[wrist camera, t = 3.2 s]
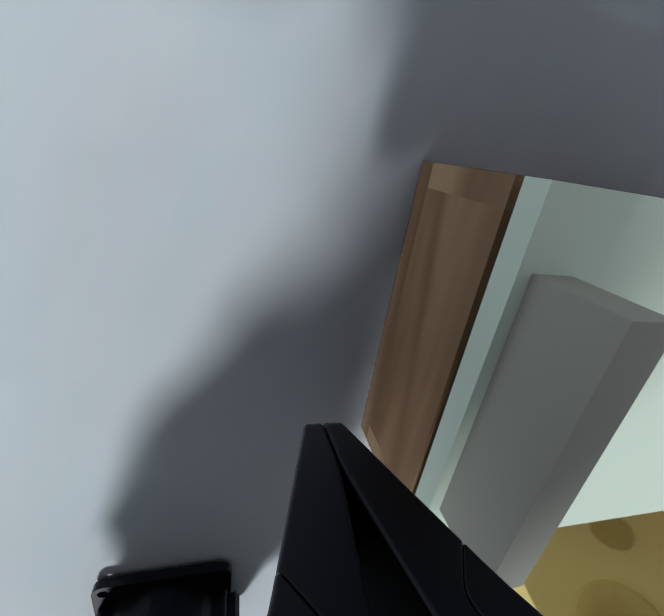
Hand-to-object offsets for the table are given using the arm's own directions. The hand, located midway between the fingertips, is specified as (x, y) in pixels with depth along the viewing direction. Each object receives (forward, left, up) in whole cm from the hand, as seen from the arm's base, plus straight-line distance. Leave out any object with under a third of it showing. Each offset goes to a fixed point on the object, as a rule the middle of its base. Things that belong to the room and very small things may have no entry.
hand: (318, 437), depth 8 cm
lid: (+10, 0, -1) cm, 10 cm away
